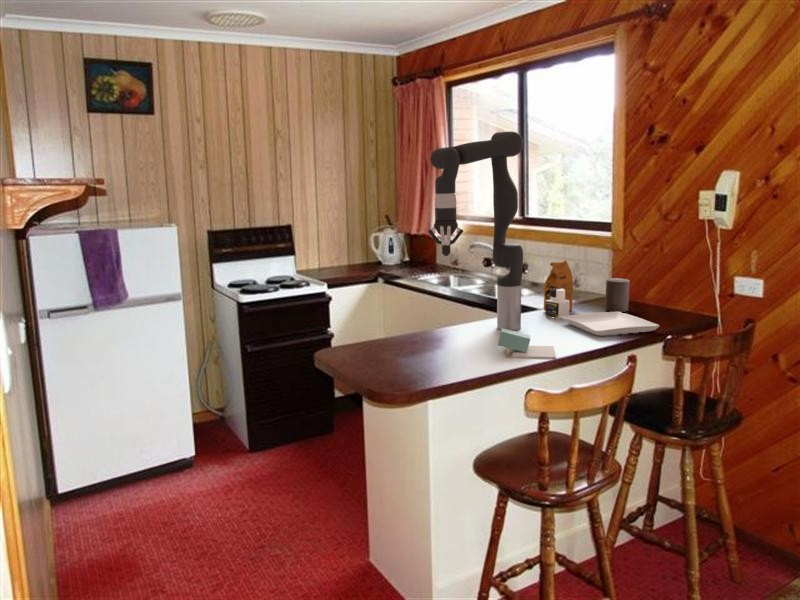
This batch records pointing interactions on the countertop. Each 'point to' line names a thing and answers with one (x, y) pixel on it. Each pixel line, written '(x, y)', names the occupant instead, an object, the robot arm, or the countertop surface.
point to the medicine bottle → (557, 304)
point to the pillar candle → (617, 295)
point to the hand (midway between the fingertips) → (446, 255)
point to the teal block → (514, 340)
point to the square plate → (610, 323)
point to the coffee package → (559, 281)
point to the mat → (536, 352)
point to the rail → (508, 352)
